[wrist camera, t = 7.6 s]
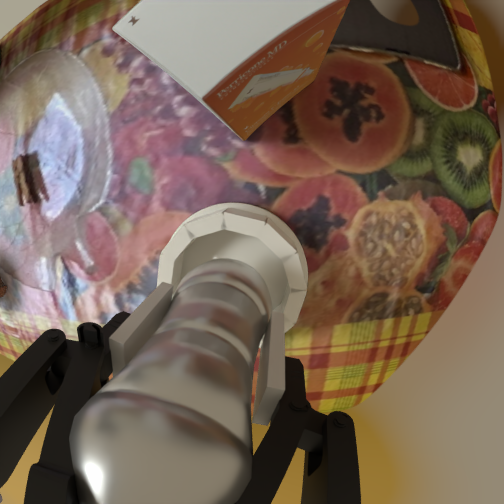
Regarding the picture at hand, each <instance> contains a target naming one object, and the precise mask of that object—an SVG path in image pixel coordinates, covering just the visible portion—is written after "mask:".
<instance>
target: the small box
mask: <svg viewBox="0 0 504 504" xmlns="http://www.w3.org/2000/svg"><path fill="white" fill-rule="evenodd" d="M349 1H350V0H141V1H140V2H139V3H138V4H137V5H135V6H134V7H133V8H132V9H131V10H130V11H129V12H128V13H127V14H126V15H125V16H124V17H123V18H122V19H121V20H120V21H118V22H117V23H116V24H115V25H114V27H113V29H112V30H113V31H115V32H116V33H117V34H119V35H120V36H121V37H123V38H124V39H125V40H127V41H128V42H129V43H130V44H132V45H133V46H134V47H135V48H137V49H138V50H139V51H140V52H142V53H143V54H144V55H145V56H147V57H148V58H149V59H150V60H151V61H153V62H154V63H155V64H156V65H158V66H159V67H160V68H161V69H162V70H164V71H165V72H166V73H167V74H168V75H169V76H171V77H172V78H173V79H174V80H175V81H176V82H178V83H179V84H180V85H181V86H182V87H183V88H185V89H186V90H187V91H188V92H189V93H190V94H192V95H193V96H194V97H195V98H196V99H197V100H198V101H199V102H201V103H202V104H203V105H204V106H205V107H206V108H207V109H208V110H210V111H211V112H212V113H213V114H214V115H215V116H216V117H217V118H218V119H219V120H221V121H222V122H223V123H224V124H225V125H226V126H227V127H228V128H229V129H231V130H232V131H233V132H234V133H235V134H236V135H237V136H238V137H239V138H240V139H242V140H243V141H245V140H246V139H247V138H248V137H249V136H250V135H251V134H252V133H253V132H254V131H255V130H256V129H257V128H258V127H259V126H260V125H261V124H262V123H264V122H265V121H266V120H267V119H268V118H269V117H270V116H271V115H273V114H274V113H275V112H276V111H277V110H278V109H279V108H281V107H282V106H283V105H284V104H285V103H287V102H288V101H289V100H290V99H291V98H293V97H294V96H295V95H296V94H298V93H299V92H300V91H301V90H303V89H304V88H305V87H307V86H308V85H309V84H310V83H312V82H313V81H314V80H315V78H316V75H317V73H318V71H319V69H320V66H321V64H322V62H323V59H324V57H325V55H326V53H327V50H328V48H329V46H330V43H331V41H332V39H333V37H334V34H335V32H336V30H337V28H338V26H339V23H340V21H341V19H342V17H343V15H344V12H345V10H346V8H347V6H348V3H349Z"/></svg>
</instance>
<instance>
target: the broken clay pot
mask: <svg viewBox="0 0 504 504" xmlns="http://www.w3.org/2000/svg"><path fill="white" fill-rule="evenodd" d="M6 289H7V286H3V282H2V280H1V277H0V297H3V296H4V295H5V293H6Z"/></svg>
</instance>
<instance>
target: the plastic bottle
mask: <svg viewBox="0 0 504 504" xmlns="http://www.w3.org/2000/svg"><path fill="white" fill-rule="evenodd" d="M271 313H272V301H271V296H270V293H269V289H268V287H267V284H266V282H265V280H264V279H263V277H262V276H261V275H260V273H259V272H257V271H256V270H255V269H254V268H253V267H251V266H250V265H248V264H246V263H244V262H242V261H239V260H235V259H230V258H219V259H213V260H210V261H207V262H205V263H203V264H201V265H199V266H197V267H196V268H194V269H193V270H191V271H190V272H188V273H187V274H186V275H185V276H184V277H183V279H182V280H181V282H180V284H179V285H178V287H177V289H176V291H175V293H174V295H173V298H172V302H171V305H170V307H169V309H168V311H167V313H166V314H165V316H164V318H163V320H162V322H161V323H160V325H159V327H158V329H157V330H156V331H155V332H154V333H153V335H152V336H151V337H150V338H149V340H148V341H147V342H146V343H145V344H144V345H143V346H142V348H141V349H140V350H139V351H138V352H137V354H136V355H135V356H134V357H133V358H132V360H131V361H130V362H129V363H128V364H127V365H126V366H125V367H124V368H122V369H121V370H120V371H119V372H118V373H117V374H116V375H115V376H114V377H113V378H112V379H111V380H110V381H109V382H108V383H106V384H105V385H104V386H103V387H102V388H101V389H100V390H99V391H98V392H97V393H96V394H95V395H94V396H92V397H91V398H90V399H89V400H88V401H87V403H86V404H85V405H84V406H83V407H82V408H81V410H80V411H79V412H78V413H77V414H76V415H75V416H74V420H73V424H72V428H71V432H70V436H69V442H70V450H71V457H72V464H73V469H74V472H75V481H76V489H77V496H78V500H79V504H234V503H235V502H237V501H238V500H239V498H240V496H241V495H242V493H243V492H244V490H245V488H246V487H247V485H248V483H249V481H250V480H251V473H252V457H253V442H252V425H251V424H252V423H251V397H252V380H253V370H254V363H255V360H256V356H257V352H258V349H259V345H260V342H261V340H262V338H263V336H264V334H265V332H266V329H267V326H268V323H269V319H270V316H271Z"/></svg>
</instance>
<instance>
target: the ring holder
mask: <svg viewBox="0 0 504 504" xmlns="http://www.w3.org/2000/svg"><path fill="white" fill-rule="evenodd" d="M219 258H230V259H235V260H239V261H242V262H244V263H246V264H248V265H250V266H251V267H253V268H254V269H255V270H256V271H257V272H259V273H260V275H261V276H262V277H263V279H264V280H265V282H266V284H267V287H268V289H269V293H270V296H271V301H272V311H275V312H279V313H284V331H285V333H286V332H287V331H288V330H289V329H290V328H292V327H293V326H294V325H295V324H296V322H297V319H298V316H299V313H300V310H301V308H302V305H303V302H304V299H305V296H306V293H307V283H308V267H307V261H306V257H305V254H304V251H303V248H302V246H301V244H300V242H299V240H298V238H297V237H296V235H295V234H294V232H293V231H292V230H291V228H290V227H289V226H288V225H287V224H286V223H285V222H284V221H282V220H281V219H280V218H279V217H278V216H276V215H274V214H273V213H271V212H270V211H268V210H265V209H263V208H261V207H258V206H255V205H252V204H247V203H241V202H227V203H220V204H216V205H212V206H209V207H207V208H204V209H202V210H200V211H198V212H197V213H195V214H193V215H191V216H190V217H189V218H188V219H186V220H185V221H184V222H183V223H182V224H181V225H180V226H179V227H178V229H177V230H176V231H175V233H174V234H173V236H172V238H171V240H170V242H169V243H168V244H167V245H166V247H165V248H164V249H163V251H162V252H161V254H160V261H159V270H158V281H157V287H158V286H159V285H160V284H161V283H162V282H165V283H169V284H172V285H173V294H172V298H173V295H174V293H175V291H176V289H177V287H178V285H179V284H180V282H181V280H182V279H183V277H184V276H185V275H186V274H187V273H188V272H190V271H191V270H193V269H194V268H196V267H197V266H199V265H201V264H203V263H205V262H207V261H210V260H213V259H219ZM264 335H265V334H264ZM263 338H264V336H263ZM263 338H262V340H261V342H260V345H259V348H261V345H262V342H263Z"/></svg>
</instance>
